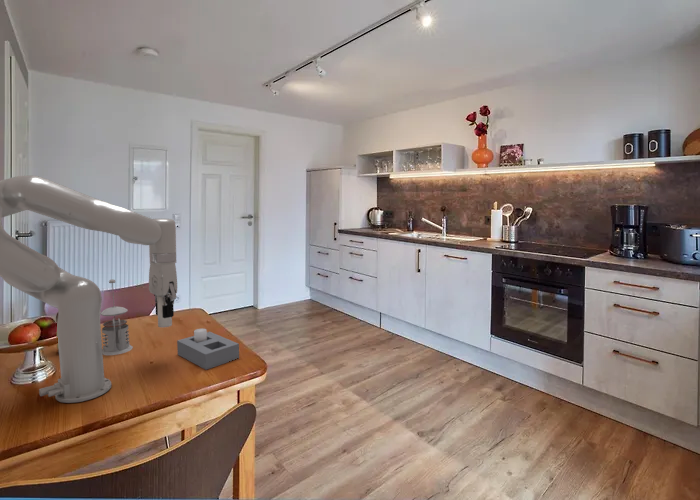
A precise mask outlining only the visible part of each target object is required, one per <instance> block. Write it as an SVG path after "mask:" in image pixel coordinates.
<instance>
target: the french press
mask: <svg viewBox="0 0 700 500" xmlns="http://www.w3.org/2000/svg"><path fill="white" fill-rule="evenodd" d="M108 282H109V284H111V287H112V291H114V284H115V283H116V279H109V281H108ZM114 293H115V292H112V302H113V303H112V305H113V306H111V307H107V308H105V309H104V310H101V311H100V316H103V317H113V318H112V320H109V321H108V320H107V321H105V322H104V323H102V326H103V327H102V328H101V338H102V337H103V338H102V354H103V356H116V355H121V354H122V355H123V354H125V353H128V352H130V351H131V350H133V347H134V346H132V345H131V344H130V337H129V336H130V335H129V332H130V331H129V324H127V322H128V321H127V320H126V319H120V318H119V317H118V319H116V316H120V315H124V314H126V313H127V312H128V311H129V310H128V309H127V308H125V307H122V306H115V297H114V295H115V294H114Z"/></svg>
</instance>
